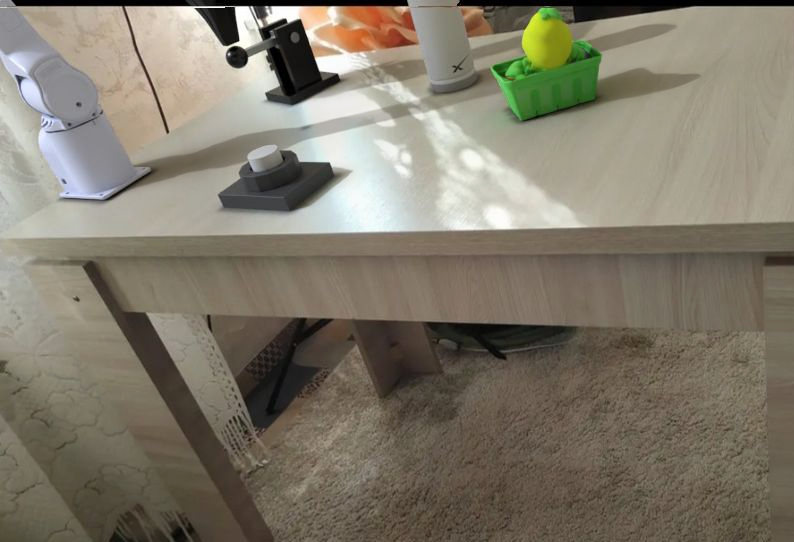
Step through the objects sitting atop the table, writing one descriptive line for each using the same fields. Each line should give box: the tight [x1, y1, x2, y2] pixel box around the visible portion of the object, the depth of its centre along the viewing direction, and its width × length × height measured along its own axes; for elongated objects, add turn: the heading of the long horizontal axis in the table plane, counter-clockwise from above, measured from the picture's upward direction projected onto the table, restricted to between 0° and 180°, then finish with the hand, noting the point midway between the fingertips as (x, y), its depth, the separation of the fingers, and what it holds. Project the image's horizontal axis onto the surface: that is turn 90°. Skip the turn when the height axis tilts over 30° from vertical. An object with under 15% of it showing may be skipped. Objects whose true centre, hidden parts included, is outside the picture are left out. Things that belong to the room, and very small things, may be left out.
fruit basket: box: [490, 6, 603, 121], centre depth 85 cm, size 11×9×11 cm
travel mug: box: [407, 0, 478, 94], centre depth 96 cm, size 6×7×20 cm
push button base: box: [217, 149, 335, 212], centre depth 85 cm, size 10×8×4 cm
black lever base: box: [257, 17, 342, 106], centre depth 112 cm, size 9×7×10 cm
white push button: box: [246, 144, 283, 172], centre depth 83 cm, size 3×3×2 cm
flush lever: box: [225, 30, 279, 70], centre depth 109 cm, size 11×3×3 cm, turn 136°
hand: (231, 43), depth 105 cm, fingers closed
